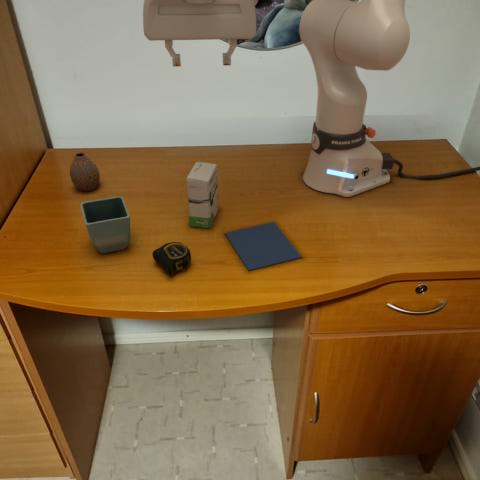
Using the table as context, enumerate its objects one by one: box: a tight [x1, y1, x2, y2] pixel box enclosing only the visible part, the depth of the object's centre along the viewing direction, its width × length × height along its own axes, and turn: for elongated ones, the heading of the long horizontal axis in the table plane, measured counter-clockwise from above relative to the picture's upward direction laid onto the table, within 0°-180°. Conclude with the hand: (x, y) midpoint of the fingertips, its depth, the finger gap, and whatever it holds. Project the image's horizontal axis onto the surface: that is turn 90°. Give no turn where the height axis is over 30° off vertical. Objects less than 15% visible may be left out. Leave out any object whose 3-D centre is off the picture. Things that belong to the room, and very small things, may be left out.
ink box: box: [186, 161, 219, 229], centre depth 108 cm, size 9×5×12 cm, turn 168°
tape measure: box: [152, 241, 192, 276], centre depth 98 cm, size 7×7×4 cm
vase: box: [69, 151, 101, 192], centre depth 118 cm, size 7×7×9 cm
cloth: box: [224, 221, 303, 272], centre depth 104 cm, size 12×14×1 cm
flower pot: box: [79, 195, 131, 254], centre depth 101 cm, size 9×9×9 cm
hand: (201, 65), depth 91 cm, fingers open, 8 cm apart
